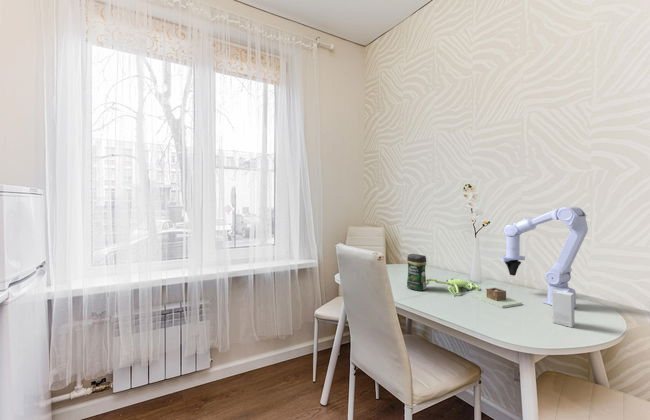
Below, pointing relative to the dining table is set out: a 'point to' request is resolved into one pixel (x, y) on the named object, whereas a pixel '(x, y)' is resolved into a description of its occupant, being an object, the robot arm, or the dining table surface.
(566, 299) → the skincare box
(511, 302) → the board
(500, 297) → the collar
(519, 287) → the dining table surface
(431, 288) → the dining table surface
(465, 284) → the figurine
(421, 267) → the coffee jar
